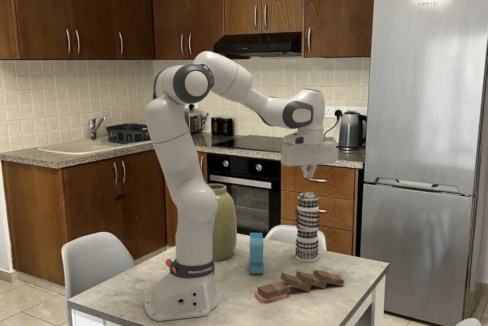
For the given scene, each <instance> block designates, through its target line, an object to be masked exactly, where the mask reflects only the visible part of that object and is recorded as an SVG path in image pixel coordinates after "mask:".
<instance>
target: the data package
mask: <svg viewBox="0 0 488 326" xmlns="http://www.w3.org/2000/svg"><path fill="white" fill-rule="evenodd" d="M249 272H250V273H249V274H250V275H263V274H264V236H263V232H250V233H249Z"/></svg>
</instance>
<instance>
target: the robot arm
mask: <svg viewBox="0 0 488 326" xmlns="http://www.w3.org/2000/svg"><path fill="white" fill-rule="evenodd" d="M253 84H254V83H253V76H252V73H251V72H249V71H248V70H247V69H246V68H245V67H244V66H242V65H240V64H239V63H237V62H236V61H233V60H232V59H230V58H228V57H226V56H224V55H221V54H219V53H216V52H213V51H209V50H205V51H202V52H200V53H199V54H197V55H196V57H194V60H193V62H192V63H189V64H183V65H182V64H181V65H180V64H177V65H173V66H169V67H166V68H164V69H161V70H160V71H159V72H158V73H157V74H156V75H155V77H154V81H153V86H152V87H153V93H152V101H151V102H149V103H148V104H147V105H146V107H145V109H144V118H145V123H146V127H147V131H148V135H149V138H150V141H151V143H152V145H153V149H154V151H155V154H156V156H157V159H158V161H159V165H160V168H161V170H162V172H163V176H164V177H163V178H164V179H165V183H166V186H167V188H168V192H169V195H170V197H171V200H172V203H174V205H175V206H176V210H177V226H176V231H175V232H176V233H175V236H174V238H175V259H174V260H173V261H172V259H170V258H167V259H166V260H165V265H166V267H168V268H169V272H168V273H167V274H165V275H164V276H163V277H162V278H161V279H160V280H158V281H157V282H156V283H155V284H154V285H153V286H152V291H151V296H150V297H147V298H146V299H145V301H144V305H143V307H144V311H145V313H146V315H147V316H148V317H149V318H150V319H152V320H153V321H157V322H160V321H161V322H162V321H170V320H171V321H172V320H179V319H190V318H198V317H206V316H209V314H210V312H211V311H212V310H213V309H215V308H216V307H217V306H218V305H219V296H218V293H217V290H216V289H217V288H216V286H215V285H216V284H215V269H216V267H215V266H216V264H215V263H216V262H215V261H214V257H213V227H214V221H215V214H216V212H217V209H218V202H217V197H216V195H215V193H214V191H213V190H212V189H211V188H210V187H209V186H208V185H207V184H208V183H207V182H206V181H205V180H204V176H203V172H202V170H201V169H202V168H201V165H200V161H199V154H198V152H197V149H196V146H195V143H194V140H193V138H192V135H191V131H190V129H189V126H188V124H187V121H186V119H185V118H186V117H185V107H186V105H194V104H196V103H199V102H202V100H204V99H205V98H206V97H208V95H209V93H210V92H211V93H214V94H215V95H218V97H221V98H223V99H226V100H228V101H230V102H234V103H239V104H241V105H243V106H245V108H248V109H250V110H251V111H252V112H254V113H256V114H257V116H258V117H259V119H260V120H261V121H262V122H263V123H264V124H265V125H267V126H269V127H275V128H276V127H278V128H283V129H288V130H297V131H293V132H292V133H289V134H287V135H284V136H283V142H284V143H283V144H282V147H281V151H280V163H281V165H283V166H284V167H294V166H295V167H297V166H300V168H301V171H302V172H303V173H302V174H303V176H302V177H303V178H305V179H309V178H314V173H315V171H316V169H317V167H318V165H329V164H331V165H332V164H335V163H336V162H337V155H338V154H337V140H336V139H335V137H333V136H324V131H325V129H324V128H325V127H324V119H325V115H326V114H325V111H326V110H325V109H326V105H325V104H326V102H325V96H324V93H323V92H322V91H320V90H318V89H311V88H301V90H300V91H299V92H298V93H297V94H295V95H293V96H292V97H290V98H282V97H277V96H266V95H264V94H263V93H261V92H259V91H258V90H256V89H255V88H253ZM308 166H309V167H310V169H309V171H307V168H308Z"/></svg>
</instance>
